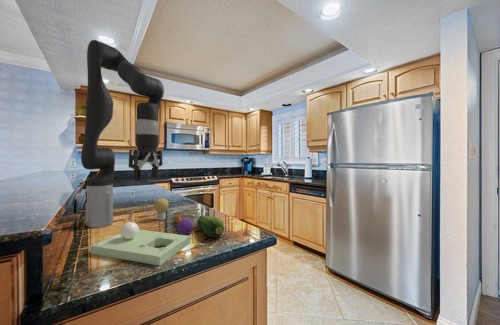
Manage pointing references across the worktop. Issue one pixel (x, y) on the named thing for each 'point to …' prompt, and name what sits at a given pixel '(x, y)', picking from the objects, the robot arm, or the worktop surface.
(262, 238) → the worktop surface
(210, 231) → the vegetable
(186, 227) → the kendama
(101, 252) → the putting board
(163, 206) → the light bulb
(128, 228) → the ball
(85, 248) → the worktop surface
